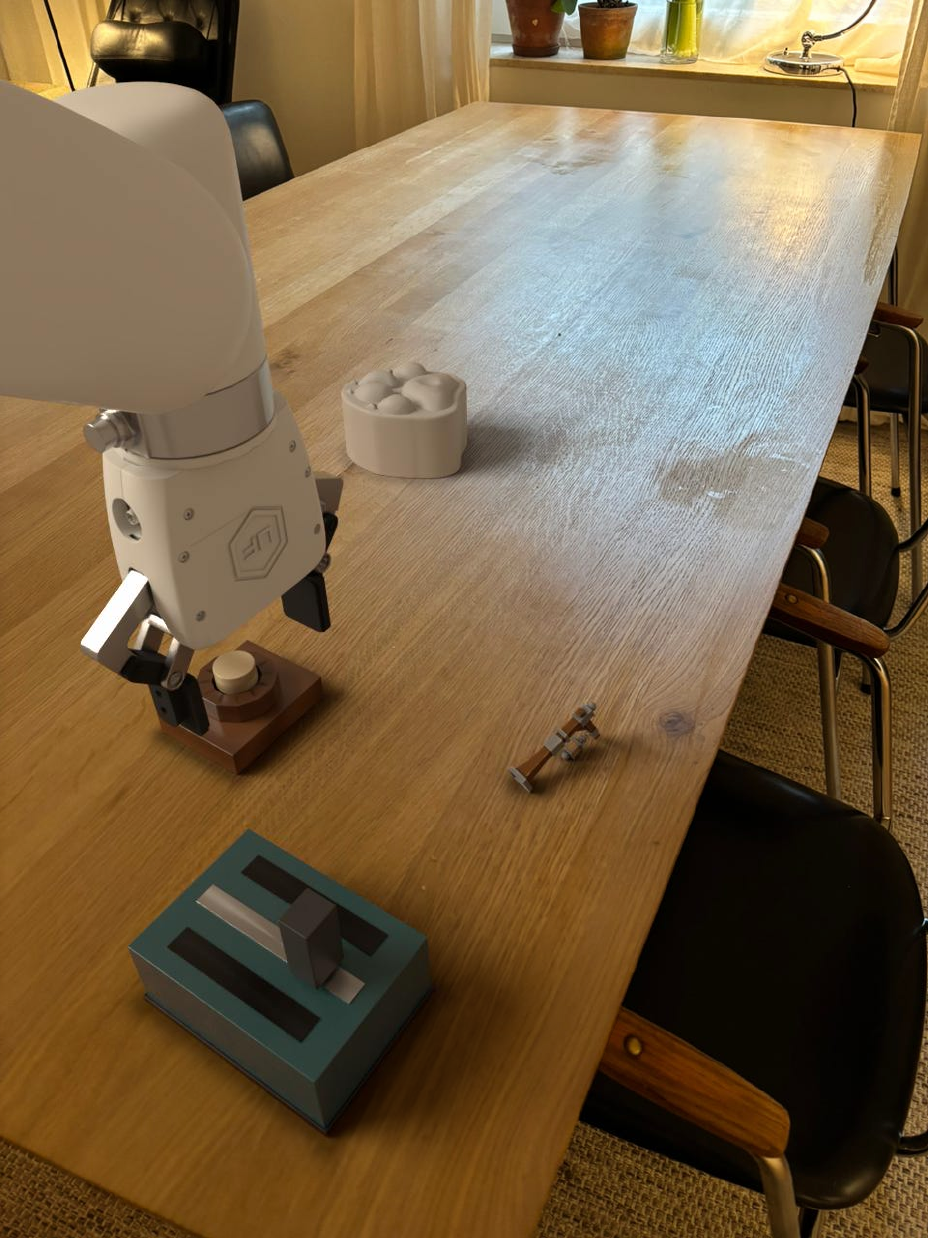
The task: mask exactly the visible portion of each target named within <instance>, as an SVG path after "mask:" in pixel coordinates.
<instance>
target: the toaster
mask: <svg viewBox="0 0 928 1238" xmlns="http://www.w3.org/2000/svg"><path fill="white" fill-rule="evenodd" d="M307 888H309V889H310V890H312V891H313V892H315V893H317V894H318V895H320V896H322V897H323V898H325V899H326V900H328V901H330V902H331V903H333V904H334V905H336V909H337V915H338V921H339V927H340V933H341V939H342V945H343V951H344V958H343V960H342V961H341V962H340V963H339V964H338V966H337V967H336V968H335V969H334V970H333V972H332V973H331V974H330V975H329V976H328V978H327V979H326V980H325V981H324V982H323V984H322V985H321V986H320V987H319V988H318V990H316V989H314V988H313V987H312V986H310V985H309V984H307V983H306V982H304V981H303V980H301V979H300V978H298V977H297V976H295V975H294V974H292V973H291V972H290V971H289V966H288V962H287V958H286V954H285V950H284V946H283V941H282V937H281V933H280V929H279V925H278V919H279V918H280V917H281V916H282V915H283V914H284V913H285V912H286V910H287V909H288V908H289V907H290V906H291V905H292V904H293V903H294V902H295V901H296V900H297V899H298V897H299V896H300V895H301V894H302V893H303V892H304V891H305V890H306V889H307ZM127 949H128V952H129V954H130V956H131V958H132V962H133V964H134V966H135V968H136V971H137V973H138V975H139V977H140V980H141V982H142V985H143V987H144V990H145V994H143V999H144V1001H145V1002H146V1003H147V1004H148V1005H150V1006H151V1007H153V1008H154V1009H155V1010H157V1011H158V1012H159V1013H160V1014H162V1015H163V1016H165V1017H166V1018H167V1019H169V1021H171V1022H172V1023H174V1024H175V1025H176V1026H178V1027H179V1028H180V1029H182V1030H183V1031H184V1032H186V1033H187V1034H188V1035H190V1036H191V1037H192V1038H194V1039H195V1040H196V1041H198V1042H199V1043H200V1044H202V1045H203V1047H205V1048H206V1049H208V1050H210V1051H211V1053H214V1054H215V1055H216V1056H217V1057H219V1058H220V1059H221V1060H222V1061H224V1062H226V1063H227V1064H228V1065H229V1066H230V1067H232V1068H233V1069H235V1070H236V1071H237V1072H239V1073H240V1074H241V1075H243V1076H244V1077H245V1078H246V1079H248V1080H249V1081H251V1082H252V1083H253V1084H255V1085H256V1086H258V1088H260V1089H261V1090H262V1091H264V1092H265V1093H266V1094H268V1095H269V1096H271V1097H272V1098H273V1099H275V1100H276V1101H277V1102H278V1103H279V1104H281V1105H282V1106H283V1107H285V1108H287V1109H288V1110H289V1111H291V1112H292V1113H293V1114H294V1115H296V1116H297V1117H298V1118H300V1119H301V1120H303V1121H304V1122H305V1123H306V1124H308V1125H309V1126H310V1127H311V1128H313V1129H314V1130H316V1131H317V1132H318V1133H319V1134H321V1135H322V1136H323V1137H325V1138H328V1136H329V1135H330V1134H331V1133H332V1131H333V1130H334V1129H335V1127H336V1126H337V1125H338V1123H339V1122H340V1120H341V1119H342V1118H343V1116H344V1115H345V1114H346V1112H347V1111H348V1110H349V1109H350V1107H351V1106H352V1104H353V1103H354V1102H355V1100H356V1099H357V1098H358V1096H359V1095H360V1094H361V1092H362V1091H363V1089H364V1088H365V1087H366V1085H367V1084H368V1083H369V1081H370V1080H371V1078H372V1077H373V1076H374V1075H375V1073H376V1072H377V1070H378V1069H379V1068H380V1066H381V1065H382V1064H383V1062H384V1061H385V1060H386V1058H387V1057H388V1055H390V1053H391V1051H392V1050H393V1049H394V1047H395V1046H396V1045H397V1044H398V1042H399V1041H400V1040H401V1038H402V1037H403V1035H404V1034H405V1032H406V1031H407V1030H408V1028H409V1027H410V1026H411V1024H412V1023H413V1022H414V1021H415V1019H416V1018H417V1016H418V1015H419V1014H420V1012H422V1010H423V1008H424V1007H425V1006H426V1004H427V1003H428V1002H429V1000H430V998H431V997H432V996H433V995H434V994H435V992H436V991H437V987H436V984H434V983H433V982H431V967H430V951H429V937H428V936H427V935H425V934H423V933H422V932H420V931H419V930H417V929H415V928H414V927H412V926H410V925H408V924H406V923H405V922H403V921H401V920H400V919H398V918H397V917H395V916H393V915H392V914H390V913H389V912H387V911H386V910H383V908H380V907H379V906H377V905H375V904H373V903H372V902H371V901H369V900H368V899H365V898H364V897H363V896H360V895H359V894H357V893H355V892H354V891H352V890H350V889H349V888H347V887H346V886H344V885H343V884H341V883H339V882H338V881H336V880H334V879H332V878H331V877H329V876H328V875H326V874H325V873H323V872H321V871H319V870H317V869H316V868H315V867H313V866H312V865H309V864H308V863H306V862H304V861H303V860H301V859H300V858H298V857H296V856H295V855H293V854H291V853H290V852H288V851H286V850H285V849H283V848H281V847H280V846H278V845H276V844H275V843H273V842H272V841H270V840H269V839H267V838H265V837H264V836H262V835H260V834H258V833H257V832H255V831H253V830H252V829H250V828H247V829H246V830H245V831H244V832H243V833H242V834H241V835H240V836H239V837H238V838H237V839H236V840H235V841H234V842H233V843H232V844H231V845H230V846H229V847H227V849H225V851H223V852H222V854H220V856H218V857H217V858H216V859H215V860H214V862H212V863H211V864H210V865H209V866H208V867H207V868H206V869H205V870H203V872H202V873H201V874H200V875H199V876H197V878H196V879H195V880H194V881H192V883H191V884H189V886H187V887H186V889H185V890H184V891H182V892H181V894H179V896H178V897H176V899H174V900H173V901H172V902H171V903H170V904H169V905H168V906H167V907H166V908H165V909H164V910H163V911H162V912H161V913H160V914H159V915H158V916H157V917H156V918H155V919H154V920H152V922H151V923H150V924H149V925H148V926H147V927H145V928H144V929H143V931H142V932H140V933H139V934H138V935H137V936H136V937H135V938H134V939H133V940H132V941H131V942H130V943H129V944H128V945H127Z"/></svg>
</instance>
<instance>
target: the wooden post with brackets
mask: <svg viewBox="0 0 928 1238" xmlns="http://www.w3.org/2000/svg"><path fill="white" fill-rule="evenodd" d="M596 710H597V703H595V702H594V701H589V702H588V703H587V704H586V703H584V702H582V704H581V705H580V706H579V707H578V708H577V709H576V710H574V712H573V713H572V714H571V718H570V719H569V720H568V721H567V722H566V723H564V724H563V726H562V727H561V728H560V727H558V728H556V729H555V731H556V733H555V732H552V733H551V735H550V737H548V739H546V740H545V741H544V742H542V747H541V748H539V750H537V751H536V752H535V753H534V754H533V755H531V756H530V757H529V758H527V759H526V760H525V761H524V762H522V763H521V764H519V765H517V766H516V767H514V766H513V765H512V764H511V765H510V766H509V767H507V768H506V769H507V770H508V772H510V774H511V775H512V777H513V778H514V779H515V780H516V781H517V782H518V783H519V785H521V786H522V787H523V788H524V789H525V790H526V791H527V792H528V793H531V791H532V790H533V789H534V787H532V785H531V784H532V782H533V780H534V779H535V778H536V776H537V775H538V774H539V773H540V771H541V770H542V769H543V767H544V766H545V764H546V763H548V761H549V760H550V759H552V757H554V758H555V757H556V755H558V753H559V752H560V751H561V750H562V749H563V752H562V753H561V754H560V755H561V759H562V760H564V761H567V760H569V759H570V758H571V759H573V760H575V758H576V756H577V755H578V754H579V753H580V752H581V751H583V752H585V748H584V744H585V743H587V738H589V737H592V738H593V739H594V740H595V741H597V740H598V739H599V738H600V737H601V734H600V730H599V729H598V727H597V726H596V725H595V724H594V722H593V721H592V719H593V718H594V717H595V716H596V714H595V711H596ZM583 731H585V732H584V735H582V734H579V737H578V738H577V737H574V736H573V735H574V734H576V733H577V732H583ZM588 734H589V735H588ZM570 738H571V739H570ZM566 743H567V744H566Z"/></svg>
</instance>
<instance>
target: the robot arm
mask: <svg viewBox="0 0 928 1238" xmlns="http://www.w3.org/2000/svg"><path fill="white" fill-rule="evenodd" d="M248 232H249V231H248V226H247V220H246V213H245V208H244V201H243V195H242V189H241V181H240V176H239V170H238V166H237V159H236V153H235V148H234V143H233V138H232V133H231V130H230V126H229V125H228V122H227V120H226V118H225V115H224V114H223V112H222V111H221V109H220V107H219V106H218V105H217V104H216V103H215V101H214V100H212V99H211V98H209V97H208V96H207V95H205V94H204V93H202V92H201V91H199V90H197V89H195V88H191V87H187V86H183V85H179V84H175V83H168V82H159V81H129V82H126V81H125V82H116V83H107V84H106V83H105V84H100V85H94V86H89V87H85V88H80V89H76V90H73V91H70V92H66V93H64V94H62V95H60V96H57V97H55V98H54V99H49V98H47V97H45V96H42V95H40V94H38V93H35V92H33V91H31V90H29V89H26V88H23V87H21V86H19V85H17V84H15V83H11V82H9V81H7V80H4V79H2V78H0V397H1V396H2V397H9V398H16V399H22V400H29V401H37V402H46V403H53V404H61V405H62V404H63V405H70V406H78V407H86V408H94V409H98V410H99V413H97V414H96V415H95V417H94V419H92V420H91V421H89V422H87V423H85V424H84V425H83V426H82V433H83V437H84V439H85V440H86V442H87V444H88V445H89V446H90V447H91V448H92V449H93V450H94V451H95V452H97V453H99V454H102V475H103V487H104V498H105V505H106V511H107V512H106V513H107V519H108V525H109V531H110V536H111V541H112V545H113V550H114V554H115V559H116V564H117V566H118V567H117V568H118V571H119V575H120V577H121V581H122V582H121V584H120V586H119V587H118V589H117V590H116V591H115V592H114V594H113V595H112V596H111V598H110V599H109V601H108V603H107V604H106V606H105V607H104V608H103V610H102V611H101V612H100V614H99V615H98V617H97V618H96V620H95V621H94V623H93V624H92V626H91V627H90V628H89V630H88V631H87V632H86V634H85V635H84V637H83V638H82V640H81V642H80V645H79V649H80V652H81V653H82V654H84V655H85V656H86V657H88V658H90V659H92V660H93V661H95V662H97V663H98V664H100V665H101V666H103V667H105V668H107V669H108V670H109V671H111V672H112V673H114V674H116V675H118V676H119V677H121V678H123V679H125V680H126V681H128V682H130V683H132V684H141V685H147V687H148V690H149V692H150V693H149V694H150V696H151V699H152V702H153V705H154V709H155V711H156V714H157V713H158V715H159V716H160V717H161V718H162V719H163V720H164V721H165V722H166V723H168V724H170V725H171V726H173V727H177V726H178V725H181V726H183V727H184V728H186V729H188V730H189V731H191V732H193V733H194V734H196V735H198V736H200V737H201V736H203V735H204V734H205V733H206V732H207V731H209V726H210V723H209V719H208V716H207V712H206V708H205V705H204V701H203V698H202V694H201V690H200V687H199V683H198V680H197V677H196V676H194V675H193V674H191V673H189V672H188V671H189V668H190V665H191V662H192V659H193V657H194V654H195V651H203V650H206V649H209V648H212V647H213V646H216V645H218V644H219V643H221V642H223V641H224V640H226V639H227V638H228V637H230V636H231V635H232V634H234V633H235V632H236V631H238V630H239V629H240V628H242V627H243V626H244V625H246V624H247V623H248V622H249V621H251V620H252V619H254V618H255V617H256V616H257V615H259V614H260V613H262V612H263V611H264V610H265V609H266V608H268V607H269V606H270V605H271V604H272V603H274V602H275V601H276V600H278V599H279V598H281V604H282V609H283V613H284V615H285V616H286V617H287V618H289V619H291V620H293V621H295V622H297V623H299V624H301V625H303V626H305V627H307V628H309V629H311V630H313V631H315V632H317V633H326V632H327V631H328V630H329V629H330V628H331V626H332V622H331V614H330V609H329V601H328V594H327V588H326V580H325V576H324V573H325V572H326V571H328V569H329V568H330V567H331V563H332V556H331V554H330V553H329V552H328V550H329V547H330V545H331V543H332V540H333V538H334V536H335V533H336V531H337V529H338V526H339V517H338V516H337V515H336V512H338V511H339V507H340V504H341V499H342V494H343V489H344V485H345V483H344V479H343V478H342V477H340V476H338V475H335V474H332V473H331V472H328V471H325V470H319V471H318V470H317V471H314V470H313V467H312V463H311V460H310V456H309V451H308V450H307V449H308V448H307V447H306V444H305V441H304V436H303V434H302V432H301V429H300V426H299V424H298V422H297V420H296V417H295V415H294V412H293V410H292V408H291V406H290V403H289V402H288V400H287V398H286V396H285V395H284V394H283V393H282V392H280V391H279V390H276V389H274V386H273V379H272V374H271V367H270V362H269V356H268V350H267V343H266V338H265V337H266V336H265V331H264V326H263V321H262V320H263V319H262V313H261V307H260V306H261V305H260V301H259V294H258V288H257V282H256V276H255V269H254V264H253V263H254V262H253V257H252V251H251V245H250V240H249V233H248ZM140 624H141V625H140ZM139 626H140V628H139V630H138V634H137V637H136V639H135V643H134V646H133V648H130V647H129V645H128V644H129V641H130V638H131V637H132V635H133V634H134V633H135V632H136V630H137V629H138V627H139ZM165 634H167V635H169V636H170V637H172V641H171V643H170V646H169V649H168V652H167V654H166V655H165V654H163V653H161V652H159V650H160V648H161V645H162V642H163V638H164V635H165ZM158 715H157V716H158Z"/></svg>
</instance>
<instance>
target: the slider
mask: <svg viewBox="0 0 928 1238" xmlns="http://www.w3.org/2000/svg"><path fill="white" fill-rule="evenodd" d="M278 925H279V929H280V933H281V937H282V941H283V946H284V950H285V954H286V958H287V962H288V966H289V971H290V972H291V973H292V974H294V975H295V976H297V977H298V978H300V979H301V980H303V981H304V982H306V983H307V984H309V985H310V986H312V987H313V988H314V989H316V990H318V988H319V987H320V986H321V985H322V984H323V982H324V981H325V980H326V979H327V978H328V976H329V975H330V974H331V973H332V972H333V970H334V969H335V968H336V967H337V966H338V964H339V963H340V962H341V961H342V960H343V958H344V951H343V945H342V939H341V933H340V927H339V921H338V915H337V909H336V905H334V904H333V903H331V902H330V901H328V900H326V899H325V898H323V897H322V896H320V895H318V894H317V893H315V892H313V891H312V890H310V889H309V888H307V889H306V890H305V891H304V892H303V893H302V894H301V895H300V896H299V897H298V899H297V900H296V901H295V902H294V903H293V904H292V905H291V906H290V907H289V908H288V909H287V910H286V912H285V913H284V914H283V915H282V916H281V917H280V918H279V919H278Z"/></svg>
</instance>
